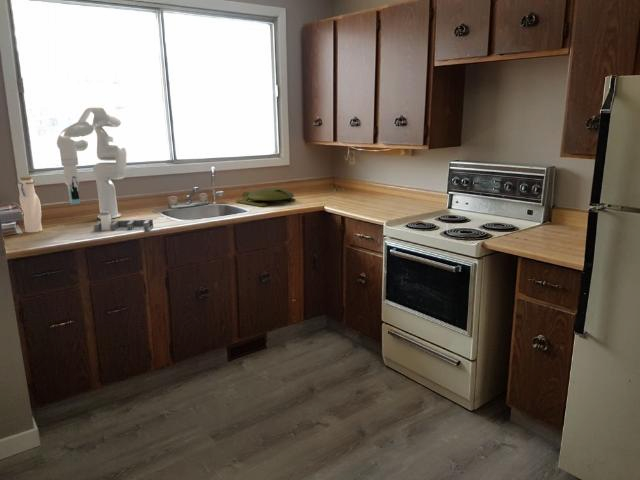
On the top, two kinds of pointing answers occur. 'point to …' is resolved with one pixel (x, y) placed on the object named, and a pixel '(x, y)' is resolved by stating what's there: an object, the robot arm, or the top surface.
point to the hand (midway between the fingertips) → (74, 198)
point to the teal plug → (71, 196)
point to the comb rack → (126, 225)
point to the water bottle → (30, 205)
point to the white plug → (105, 220)
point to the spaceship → (266, 196)
